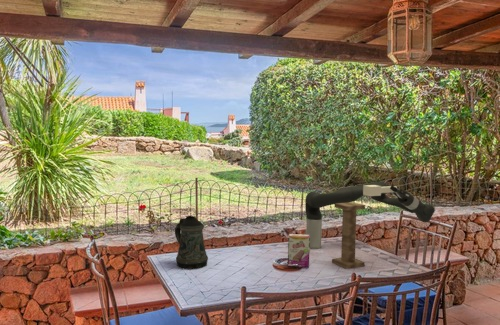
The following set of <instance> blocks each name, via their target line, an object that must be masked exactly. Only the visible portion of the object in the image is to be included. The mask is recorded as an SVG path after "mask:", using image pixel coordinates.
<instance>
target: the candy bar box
mask: <svg viewBox="0 0 500 325" xmlns="http://www.w3.org/2000/svg"><path fill="white" fill-rule="evenodd" d="M287 239H288V242H287V245H288V246H287V265H288V264H298V265H301V266H302V267H301V268H303V269H304V268H306V269H307V268H309V267H310V249H311V248H310V235H305V234H301V233H299V234H296V233H289V234H288V238H287Z"/></svg>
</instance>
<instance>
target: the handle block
mask: <svg viewBox="0 0 500 325" xmlns="http://www.w3.org/2000/svg"><path fill="white" fill-rule="evenodd" d="M362 185H363V196H368V197H370V196H381V193H386V194H389V193H390V192H394V191H392V190H391V189H390V187H391V185H390V186H387V187H381V186H377V185H364V184H362ZM393 186H394V187H396V188H398V186H396V185H393Z"/></svg>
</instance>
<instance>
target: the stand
mask: <svg viewBox="0 0 500 325" xmlns="http://www.w3.org/2000/svg"><path fill="white" fill-rule="evenodd" d="M334 208H335V209H340V210H342V218H341V219H342V224H341V228H342V229H341V255H340V256H341V257H337V258H336V257H335V258H332V259H331V263H332V264H334V265H336V266H338V267H341V268H344V269H345V270H349V269H354V268H360V267H365V264H366V261H362V260H360V259H357V258H356V243H357V242H356V236H357V210H366V204H362V203H359V202H355V201H354V202H349V203H336V204H334Z"/></svg>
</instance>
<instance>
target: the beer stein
mask: <svg viewBox="0 0 500 325" xmlns="http://www.w3.org/2000/svg"><path fill="white" fill-rule="evenodd" d="M204 227H205V226H204V224H203V223H202V222H201V221H200V220H198V219H197V217H196V216H194V215H187V216H186V217H185V218H182V217H181V218H180V220H179V221H178V223H177V224H175V228H174V237H175V239H176V241H177V243H178V251H177V255H176V257H175V262H176V266H177V268H180V269H183V268H184V270H197V269H202V268H205V267H207V266H208V260H209V256H208V254H207V252H206V251H207V250H206V247H205V241H204V240H205V239H204V232H203V231H204V230H203V229H204Z"/></svg>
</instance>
